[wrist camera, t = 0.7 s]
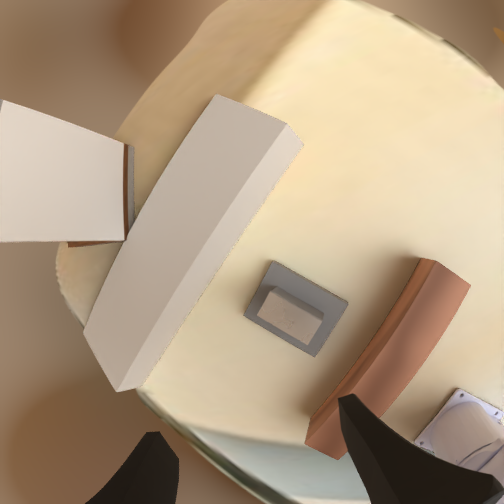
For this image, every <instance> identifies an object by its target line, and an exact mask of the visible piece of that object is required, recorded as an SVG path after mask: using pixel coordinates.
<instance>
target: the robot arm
mask: <svg viewBox="0 0 504 504" xmlns="http://www.w3.org/2000/svg"><path fill="white" fill-rule="evenodd" d="M462 393H463V394H462ZM461 394H462V395H461ZM460 395H461V396H460ZM338 406H339V415H340V425H341V431H342V434H343V437H344V440H345V443H346V446H347V449H348V452H349V454H350V456H351V458H352V460H353V462H354V465H355V467H356V469H357V471H358V473H359V475H360V477H361V479H362V482H363V484H364V486H365V488H366V490H367V493H368V495H369V498H370V501H371V504H504V425H503V424H502V423H501V421H500V419H501V418H502V417H503V415H504V412H503V411H502V410H500V409H498V408H496V407H494V406H492V405H490V404H488V403H487V402H485V401H483V400H481V399H479V398H477V397H475V396H473V395H471V394H469V393H468V392H466V391H464V390H462V389H457V390H456V391H455V392H454V393H453V395H452V396H451V397H450V399H449V400H448V401H447V402H446V404H445V405H444V406H443V408H442V409H441V410H440V411H439V413H438V414H437V415H436V416H435V417H434V419H433V420H432V421H431V422H430V423H429V424H428V426H427V427H426V428H425V429H424V430H423V431H422V432H421V434H420V435H419V436H418V437H417V438H416V439H415V441H414V442H415V444H416V445H418V446H420V447H423V448H425V449H428V450H431V451H433V452H434V453H435V456H436V457H435V456H433V455H431V454H429V453H428V452H426V451H424V450H422V449H420V448H419V447H417V446H415V445H414V444H412V443H410V442H409V441H407V440H406V439H404V438H403V437H402V436H400V435H399V434H397V433H396V432H395V431H394V430H392V429H391V428H390V427H388V426H387V425H386V424H385V423H384V422H383V421H381V420H380V419H379V418H378V417H377V416H376V415H375V414H374V413H373V412H372V411H370V410H369V409H368V408H367V407H366V406H365V404H364V403H363V402H362V401H361V400H360V399H359V398H358V397H357V396H356V394H353V393H352V394H349V395H346V396H343V397H340V398H338ZM422 441H423V442H422ZM420 442H422V443H420ZM178 481H179V458H178V457H177V456H176V454H175V453H174V452H173V450H172V449H171V448H170V446H169V445H168V443H167V442H166V440H165V439H164V438H163V436H162V435H161V433H160V432H146V434H145V435H144V436H143V438H142V439H141V440H140V442H139V443H138V445H137V446H136V447H135V449H134V450H133V452H132V453H131V454H130V455H129V457H128V458H127V460H126V461H125V462H124V463H123V465H122V466H121V468H120V469H119V470H118V471H117V472H116V473H115V475H114V476H113V477H112V478H111V479H110V480H109V482H108V483H107V484H106V485H105V486H104V487H103V488H102V489H101V490H100V491H99V492H98V493H97V494H96V495H95V496H94V497H93V498H91V499H90V500H89V501H88V502H86V503H85V504H175V502H176V495H177V488H178Z"/></svg>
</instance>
